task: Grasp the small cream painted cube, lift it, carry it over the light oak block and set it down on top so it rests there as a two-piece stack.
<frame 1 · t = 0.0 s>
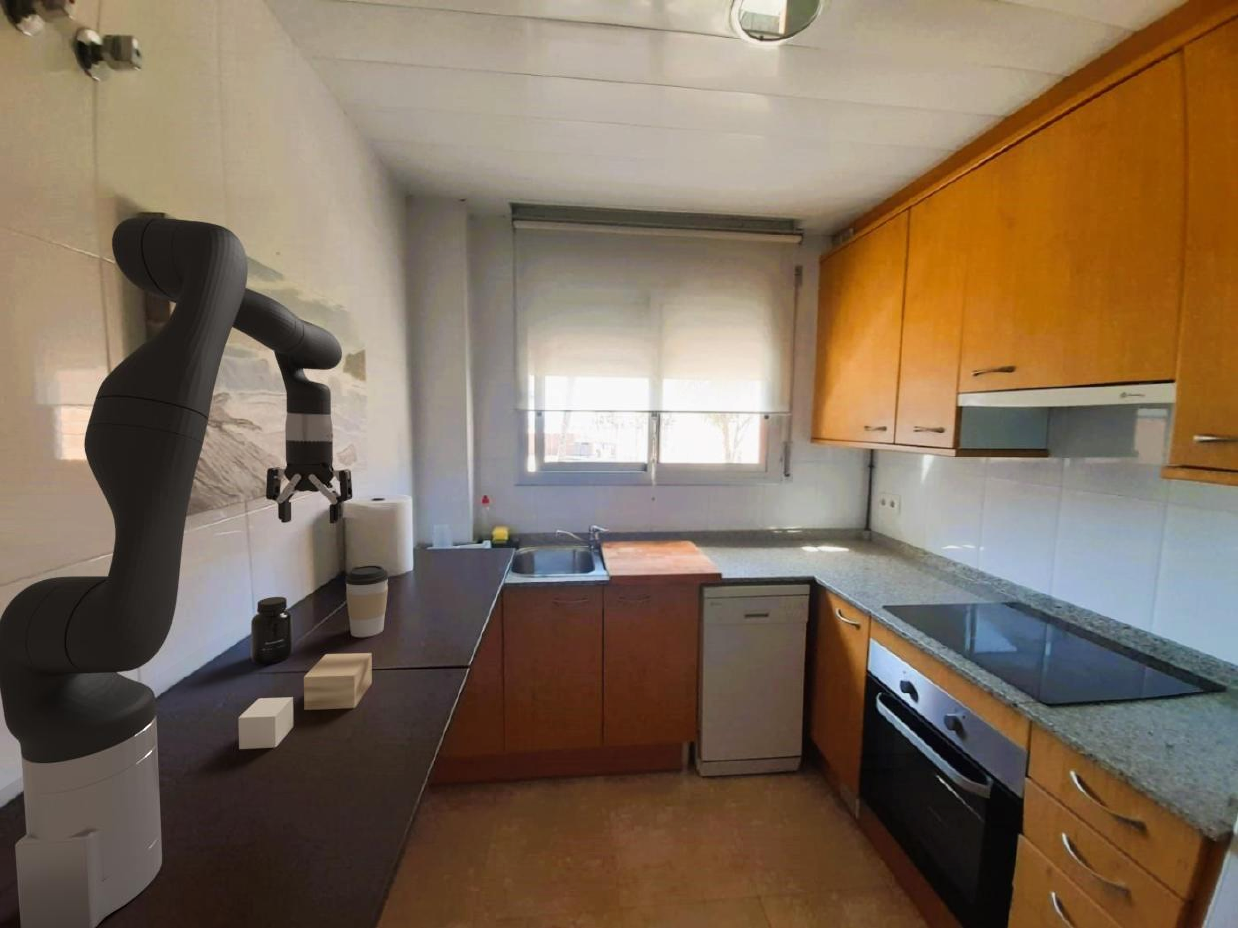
hand: (310, 522, 92), 29 cm above the countertop, fingers open, 8 cm apart
oak block: (339, 696, 86), on the countertop
coffee cup: (367, 631, 112), on the countertop
cream cube: (267, 737, 74), on the countertop
supplement bottle: (272, 658, 98), on the countertop
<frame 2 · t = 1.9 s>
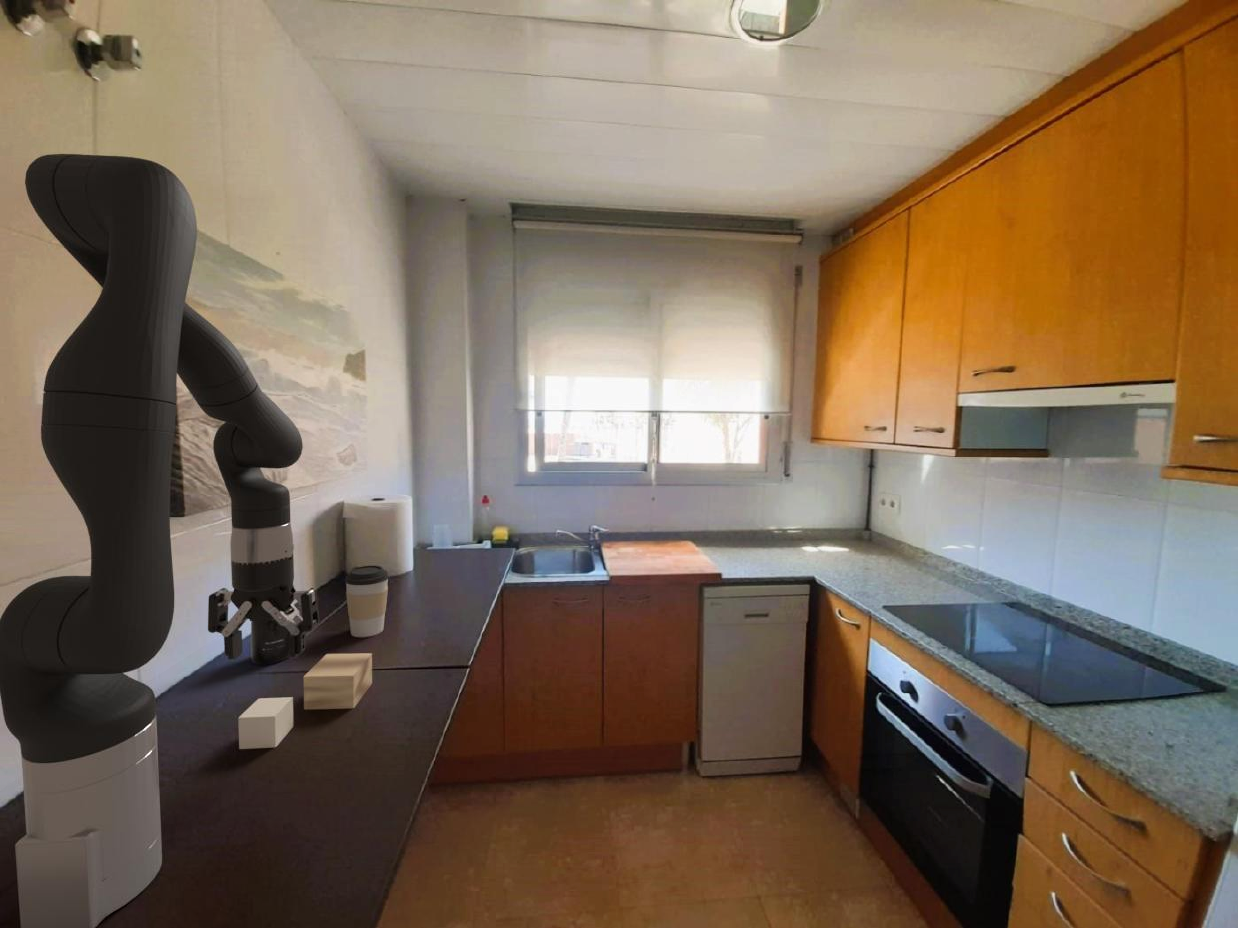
hand: (266, 656, 73), 13 cm above the countertop, fingers open, 8 cm apart
nothing on the countertop moved.
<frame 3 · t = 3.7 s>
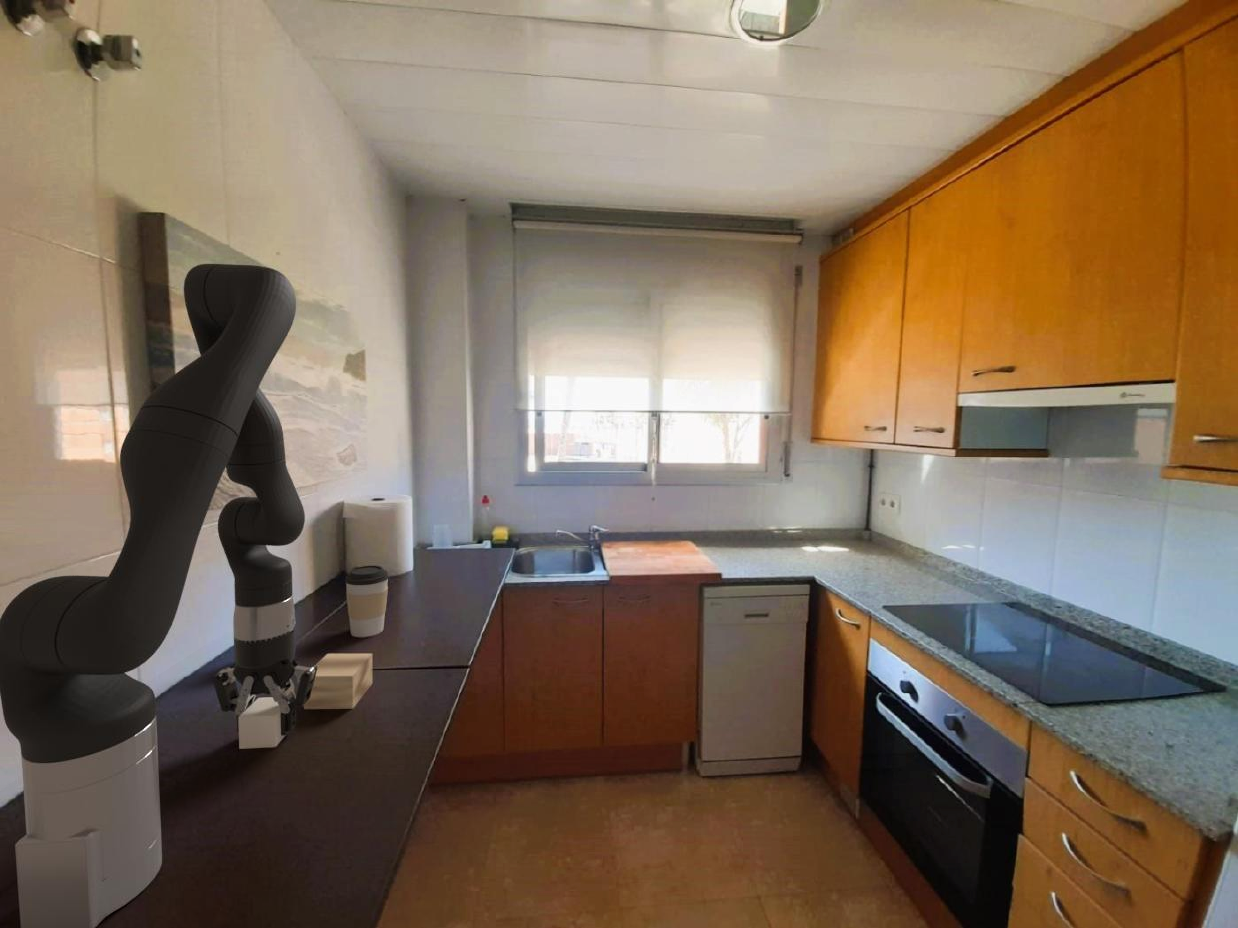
hand: (267, 732, 74), 1 cm above the countertop, fingers closed on cream cube, 5 cm apart
cream cube: (267, 736, 74), on the countertop, touching gripper
everything else where it was.
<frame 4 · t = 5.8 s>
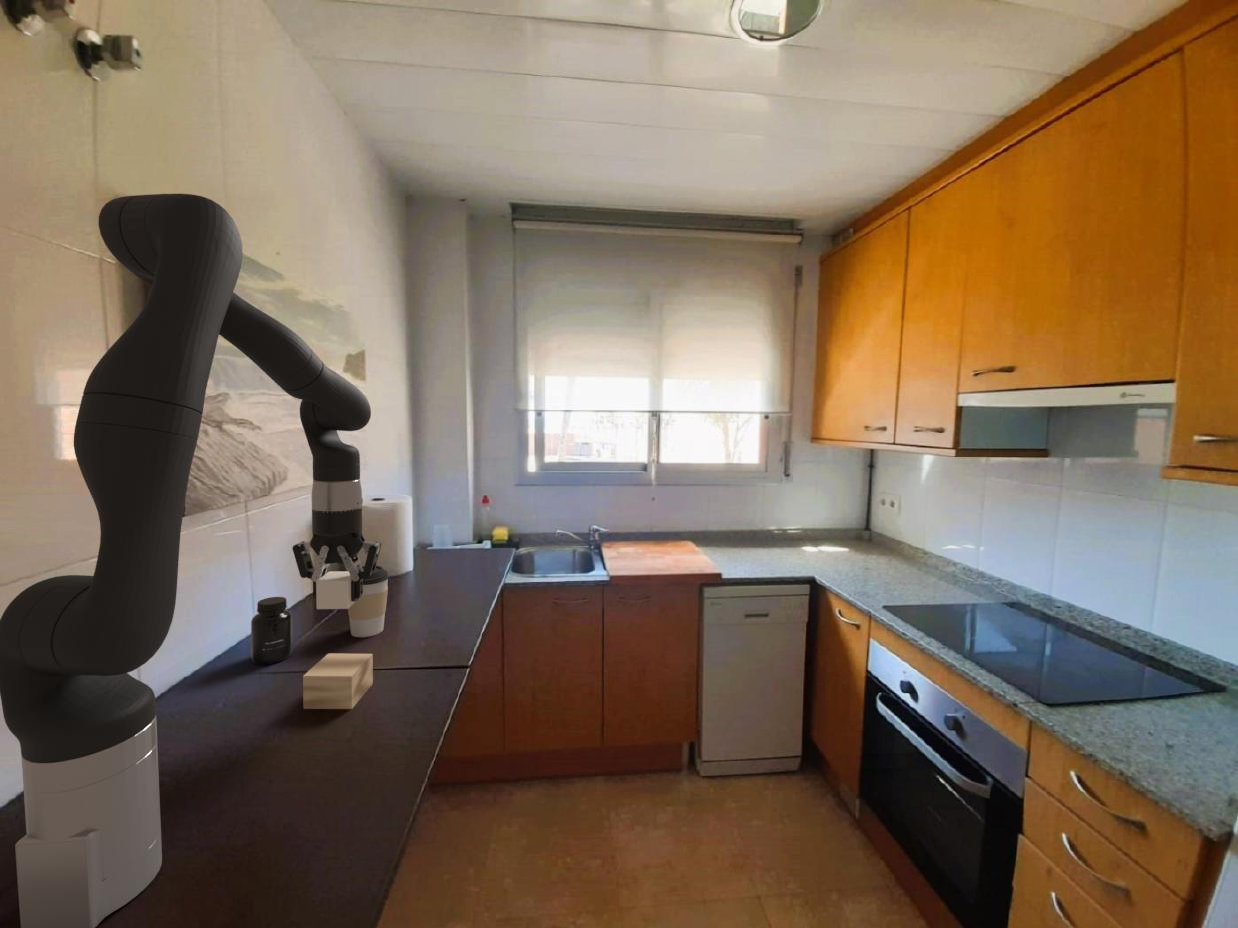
hand: (338, 599, 85), 18 cm above the countertop, fingers closed on cream cube, 5 cm apart
cream cube: (338, 603, 85), point 17 cm above the countertop, touching gripper
everything else where it was.
when the fingers open (8 cm above the countertop, at t = 8.0 s): cream cube drops 1 cm, resting on oak block.
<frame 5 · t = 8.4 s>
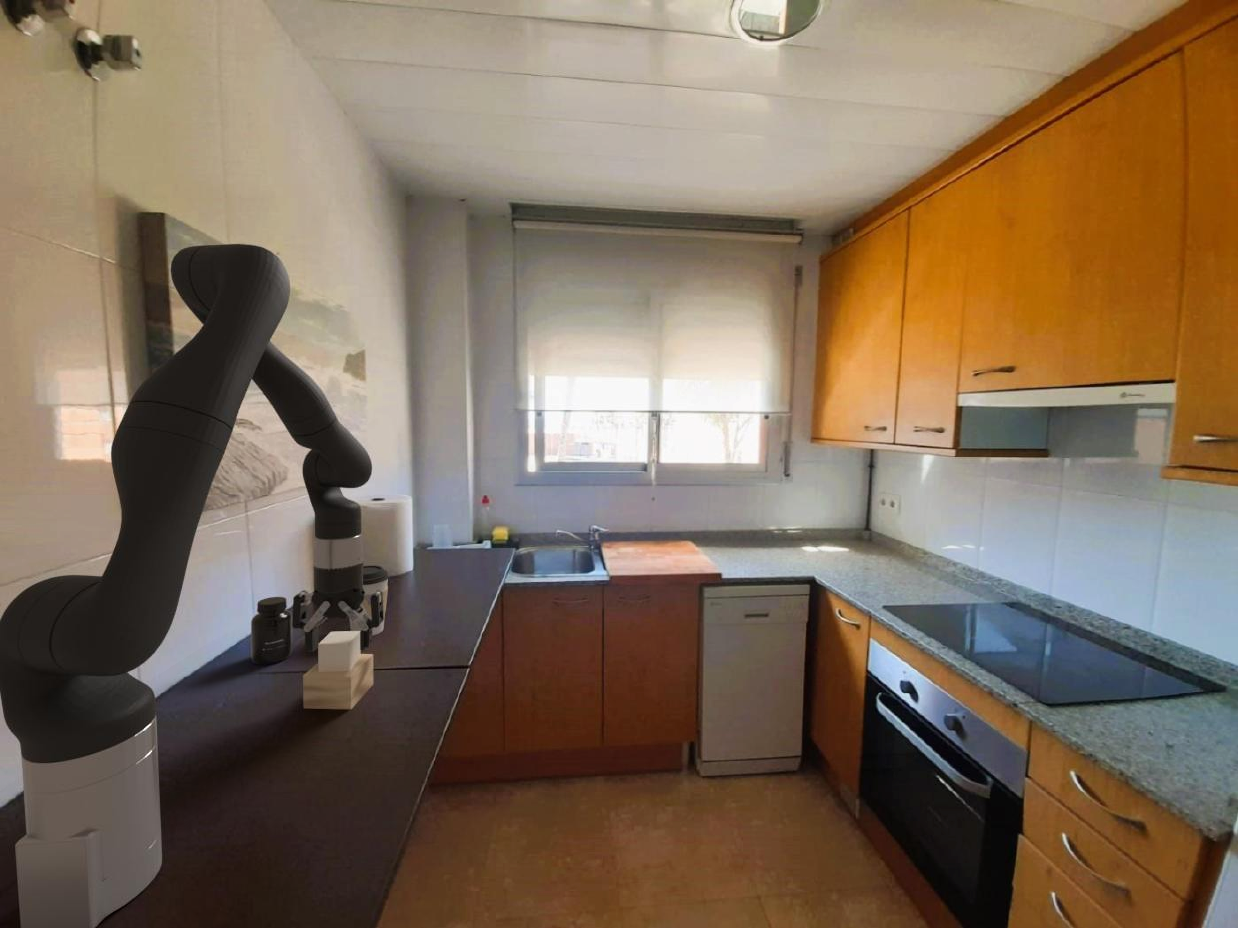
hand: (339, 649, 85), 9 cm above the countertop, fingers open, 8 cm apart
oak block: (340, 696, 86), on the countertop, touching cream cube
cream cube: (340, 664, 86), point 6 cm above the countertop, touching oak block
everything else where it was.
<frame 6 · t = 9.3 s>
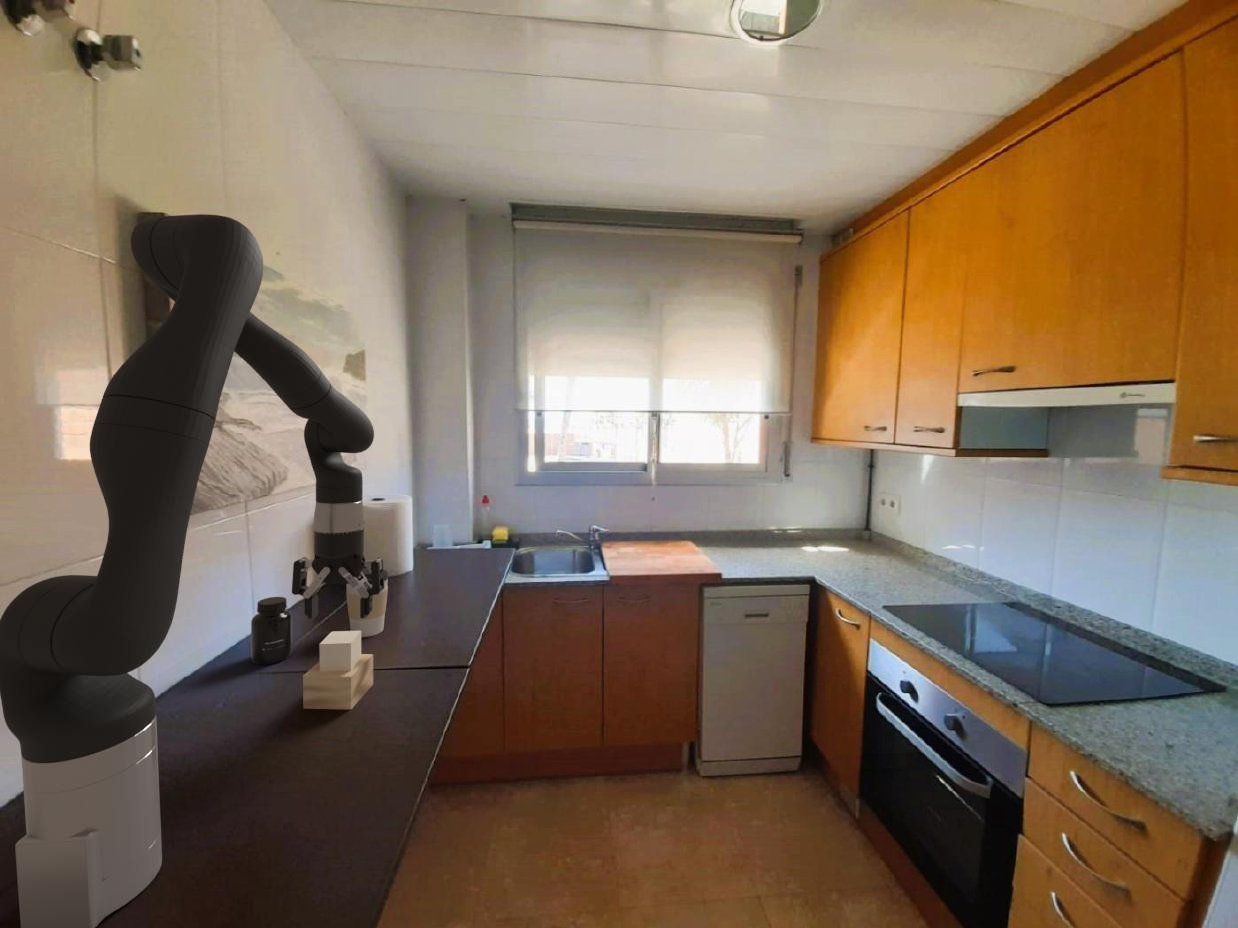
hand: (339, 617, 85), 15 cm above the countertop, fingers open, 8 cm apart
nothing on the countertop moved.
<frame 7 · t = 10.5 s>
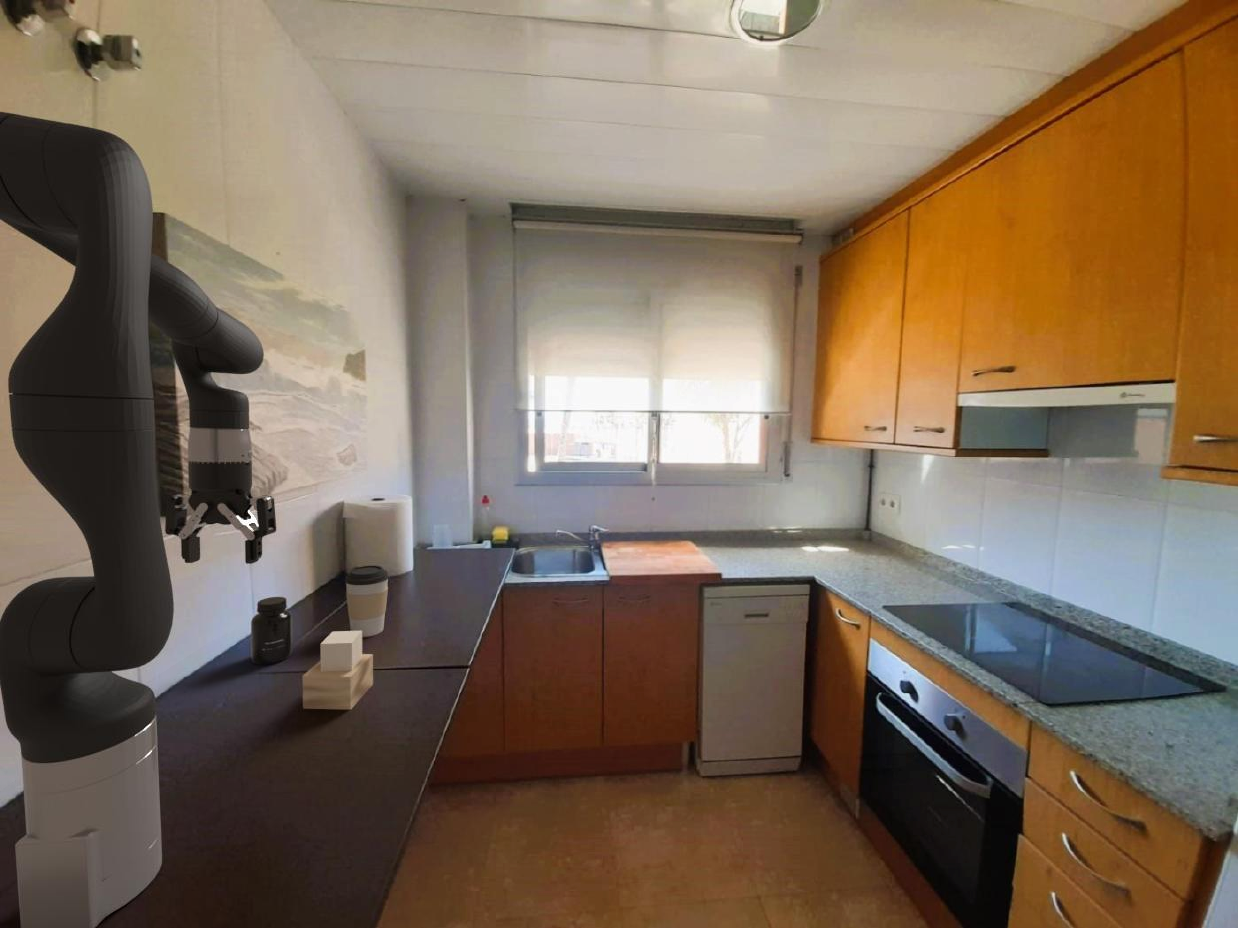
hand: (222, 562, 74), 27 cm above the countertop, fingers open, 8 cm apart
nothing on the countertop moved.
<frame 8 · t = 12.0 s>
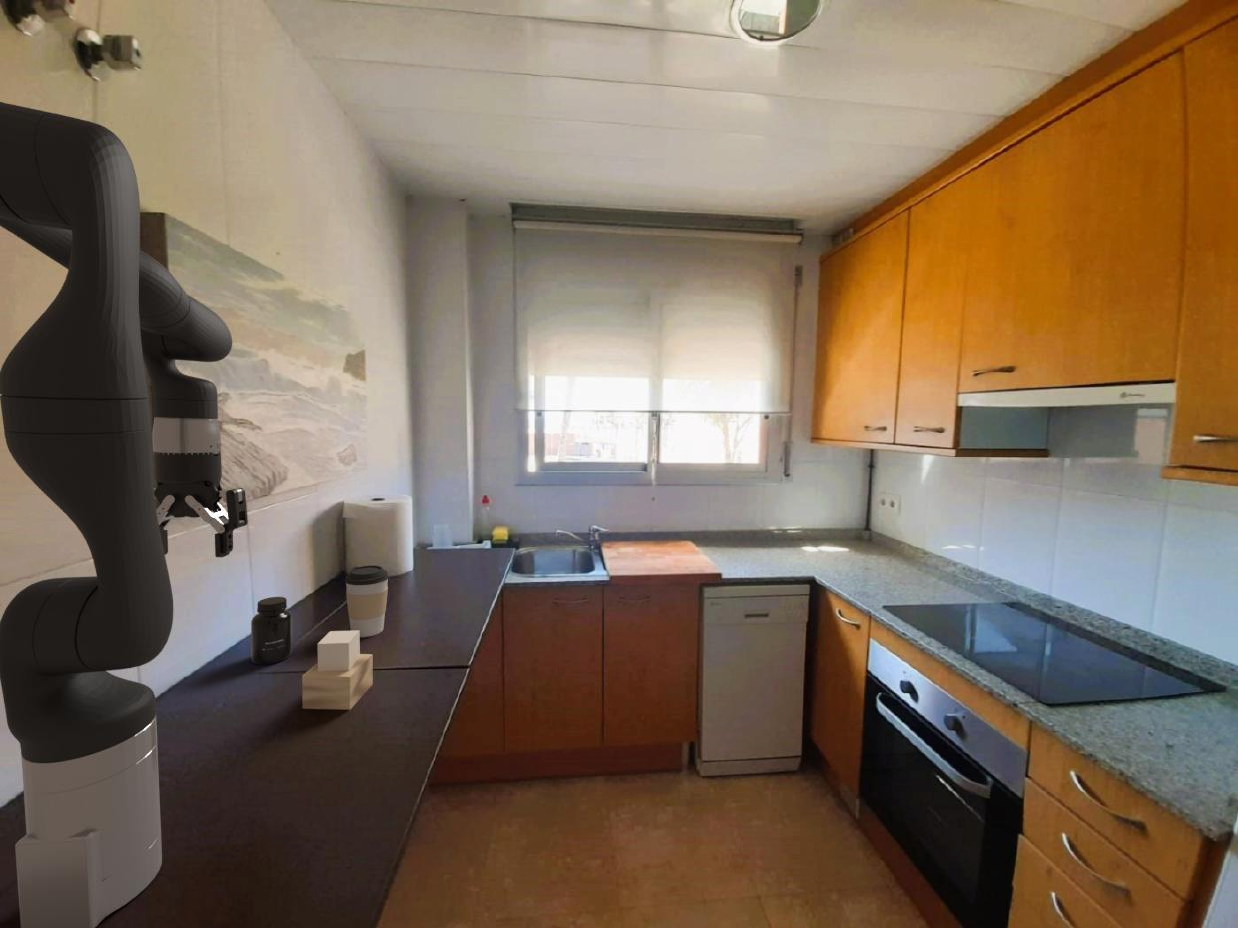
hand: (191, 555, 72), 28 cm above the countertop, fingers open, 8 cm apart
nothing on the countertop moved.
at the end: cream cube 0.3 cm off-centre on the oak block, point 6.0 cm above the oak block's base; cream cube tilted 0°; the gripper is holding nothing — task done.
